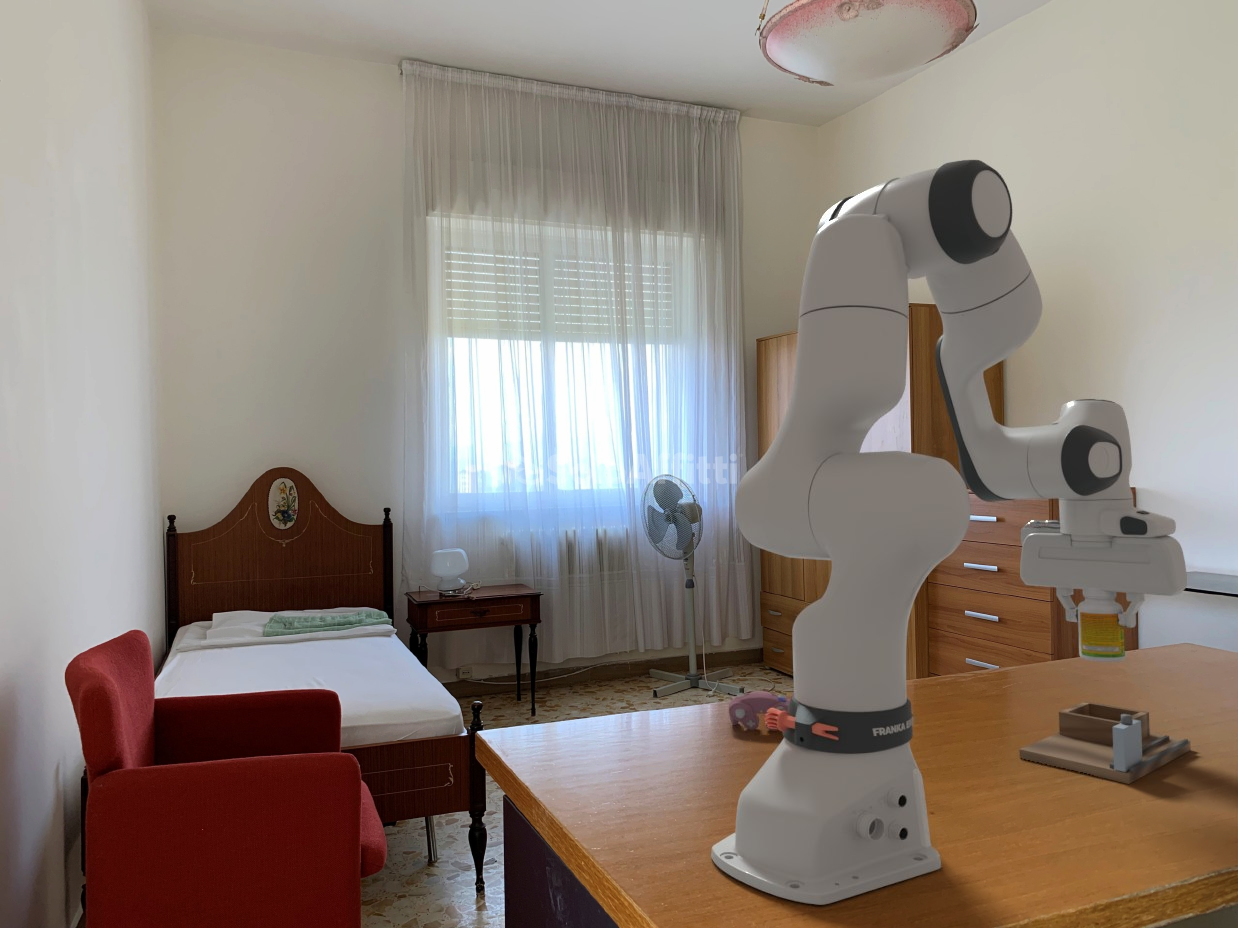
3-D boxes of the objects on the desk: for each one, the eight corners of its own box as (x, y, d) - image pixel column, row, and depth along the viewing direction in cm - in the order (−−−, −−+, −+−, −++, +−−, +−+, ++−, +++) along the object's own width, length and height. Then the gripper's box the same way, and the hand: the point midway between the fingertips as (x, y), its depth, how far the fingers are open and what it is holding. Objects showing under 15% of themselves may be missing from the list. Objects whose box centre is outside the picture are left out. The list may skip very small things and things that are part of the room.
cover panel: (1124, 771, 103) (1122, 720, 103) (1114, 769, 104) (1112, 718, 104) (1142, 762, 106) (1140, 712, 106) (1131, 760, 107) (1129, 710, 107)
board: (1131, 784, 102) (1130, 748, 103) (1019, 758, 113) (1018, 725, 113) (1193, 750, 114) (1191, 717, 114) (1086, 729, 125) (1085, 699, 125)
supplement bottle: (1131, 663, 115) (1128, 588, 115) (1086, 662, 116) (1083, 588, 116) (1117, 655, 120) (1114, 583, 121) (1074, 654, 122) (1071, 583, 122)
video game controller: (728, 739, 130) (725, 702, 127) (731, 718, 134) (728, 681, 131) (797, 742, 128) (795, 704, 125) (797, 720, 132) (795, 683, 129)
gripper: (1009, 520, 125) (1013, 618, 125) (1170, 523, 109) (1174, 635, 109) (1031, 518, 129) (1034, 613, 129) (1189, 520, 113) (1193, 629, 113)
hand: (1100, 623), depth 118 cm, fingers closed on supplement bottle, 5 cm apart
